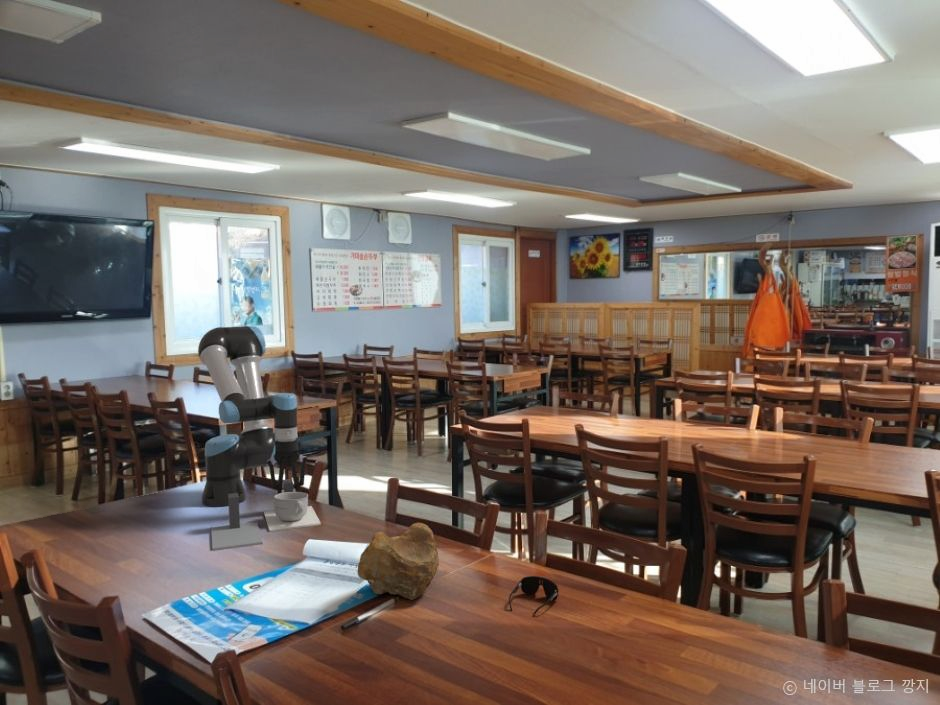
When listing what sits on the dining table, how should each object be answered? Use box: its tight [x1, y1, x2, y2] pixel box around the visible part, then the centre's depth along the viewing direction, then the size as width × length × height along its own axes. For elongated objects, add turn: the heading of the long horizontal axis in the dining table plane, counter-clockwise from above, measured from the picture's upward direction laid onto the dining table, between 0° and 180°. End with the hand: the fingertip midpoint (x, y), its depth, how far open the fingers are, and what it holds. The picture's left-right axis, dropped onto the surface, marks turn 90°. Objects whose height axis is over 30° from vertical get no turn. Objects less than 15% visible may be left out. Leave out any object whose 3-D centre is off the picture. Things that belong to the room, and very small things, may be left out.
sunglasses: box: [508, 575, 560, 615], centre depth 167 cm, size 10×12×5 cm
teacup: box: [273, 491, 309, 521], centre depth 229 cm, size 14×11×8 cm
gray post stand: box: [210, 493, 263, 551], centre depth 216 cm, size 21×14×11 cm, turn 21°
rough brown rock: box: [357, 522, 440, 601], centre depth 175 cm, size 23×17×15 cm
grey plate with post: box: [263, 478, 322, 533], centre depth 232 cm, size 21×16×11 cm
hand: (288, 507), depth 239 cm, fingers closed on grey plate with post, 3 cm apart
